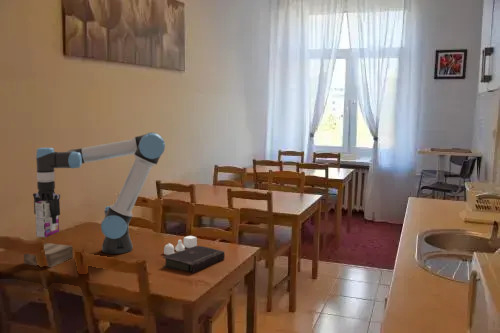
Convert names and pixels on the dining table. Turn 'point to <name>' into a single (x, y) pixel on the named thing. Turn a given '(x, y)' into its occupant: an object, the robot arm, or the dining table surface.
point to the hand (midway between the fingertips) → (47, 229)
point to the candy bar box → (44, 219)
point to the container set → (181, 245)
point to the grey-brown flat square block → (52, 254)
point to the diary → (193, 258)
